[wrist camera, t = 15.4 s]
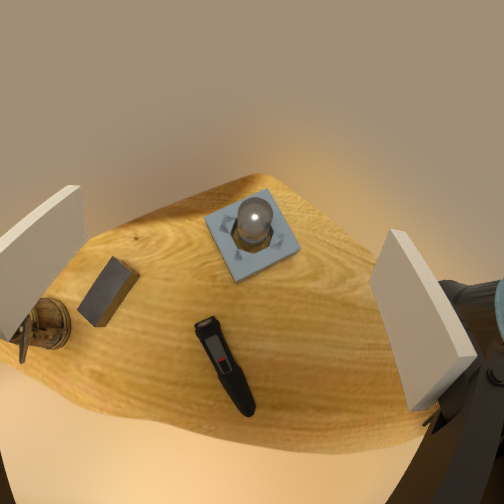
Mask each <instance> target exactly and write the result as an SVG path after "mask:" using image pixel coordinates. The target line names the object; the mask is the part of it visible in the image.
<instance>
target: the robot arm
mask: <svg viewBox="0 0 504 504" xmlns="http://www.w3.org/2000/svg"><path fill="white" fill-rule="evenodd" d="M87 241H88V235H87V229H86V223H85V215H84V208H83V201H82V192H81V186H74V185H67V186H66V187H65V188H63V189H62V190H60V191H59V192H58V193H56V194H55V195H53V196H52V197H51V198H49V199H48V200H47V201H45V202H44V203H43V204H41V205H40V206H39V207H38V208H36V209H35V210H33V211H32V212H31V213H30V214H28V215H27V216H26V217H25V218H23V219H22V220H21V221H20V222H19V223H17V224H16V225H15V226H14V227H13V228H11V229H10V230H9V231H8V232H7V233H6V234H4V235H3V236H2V237H1V238H0V338H1V339H3V340H5V341H7V342H9V341H10V339H11V338H12V336H13V335H14V333H15V332H16V330H17V329H18V327H19V326H20V325H21V323H22V322H23V320H24V319H25V318H26V316H27V315H28V313H29V312H30V311H31V309H32V308H33V307H34V305H35V304H36V303H37V301H38V300H39V299H40V297H41V296H42V295H43V294H44V292H45V291H46V290H47V288H48V287H49V286H50V285H51V283H52V282H53V281H54V280H55V279H56V277H57V276H58V275H59V274H60V272H61V271H62V270H63V269H64V268H65V266H66V265H67V264H68V263H69V262H70V261H71V259H72V258H73V257H74V256H75V255H76V254H77V253H78V251H79V250H80V249H81V248H82V247H83V246H84V245H85V244H86V242H87ZM369 283H370V286H371V289H372V292H373V294H374V297H375V300H376V303H377V306H378V308H379V311H380V314H381V317H382V320H383V323H384V326H385V329H386V332H387V335H388V339H389V342H390V345H391V348H392V351H393V355H394V358H395V362H396V365H397V368H398V372H399V375H400V379H401V383H402V386H403V390H404V394H405V398H406V402H407V406H408V410H409V412H411V411H421V410H428V409H429V408H430V407H431V406H432V405H433V404H434V403H435V402H436V401H437V400H438V401H439V404H440V408H439V409H438V410H437V411H436V412H435V413H434V414H433V415H432V416H430V417H429V418H428V419H427V420H426V421H425V422H424V423H423V425H422V426H424V427H425V426H426V425H427V424H428V423H429V422H431V423H430V425H429V427H428V430H427V432H426V434H425V436H424V438H423V440H422V442H421V444H420V446H419V448H418V450H417V452H416V454H415V456H414V457H413V459H412V461H411V463H410V465H409V466H408V468H407V470H406V471H405V473H404V475H403V477H402V478H401V480H400V482H399V483H398V485H397V486H396V488H395V490H394V491H393V493H392V494H391V496H390V497H389V499H388V501H387V502H386V503H385V504H504V278H503V279H502V280H497V281H491V282H486V283H481V284H475V285H471V286H468V285H465V284H461V283H458V282H455V281H452V280H442V281H437V280H436V278H435V276H434V275H433V273H432V272H431V270H430V268H429V267H428V265H427V264H426V262H425V261H424V259H423V258H422V256H421V254H420V253H419V251H418V250H417V249H416V247H415V245H414V244H413V242H412V241H411V240H410V238H409V237H408V235H407V234H406V232H404V231H399V230H394V229H389V232H388V235H387V237H386V240H385V243H384V245H383V248H382V251H381V253H380V256H379V258H378V260H377V263H376V265H375V268H374V270H373V273H372V275H371V277H370V280H369ZM0 504H16V503H15V500H14V497H13V494H12V491H11V488H10V485H9V482H8V478H7V475H6V471H5V468H4V464H3V460H2V456H1V452H0Z"/></svg>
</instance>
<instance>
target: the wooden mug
mask: <svg viewBox="0 0 504 504" xmlns="http://www.w3.org/2000/svg"><path fill="white" fill-rule="evenodd" d="M69 333H70V320H69V315H68V312H67V310H66V307H65V306H64V305H63V304H62V303H61V301H59V300H57V299H53V298H40V299H39V300H38V301H37V303H36V304H35V305H34V307H33V308H32V309H31V311H30V312H29V313H28V315H27V316H26V318H25V319H24V320H23V322H22V323H21V325H20V326H19V327H18V329H17V330H16V332H15V333H14V335H13V336H12V338H11V339H10V341H9V342H11V343H13V344H16V345H19V350H20V352H19V362H20V364H23V363H24V362H25V357H26V353H27V349H28V345H30V346H37V347H42V348H44V349H51V350H53V349H59V348H61V347H62V346H64V344H65V343H66V341H67V339H68V336H69Z"/></svg>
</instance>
